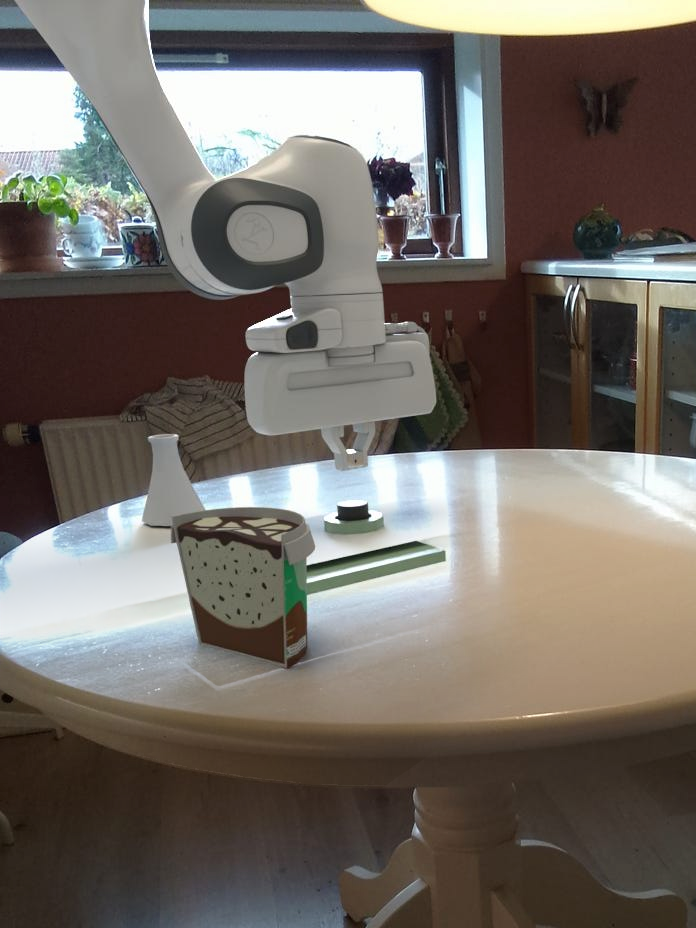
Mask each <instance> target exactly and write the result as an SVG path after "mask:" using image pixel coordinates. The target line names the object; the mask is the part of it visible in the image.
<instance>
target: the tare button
mask: <svg viewBox="0 0 696 928" xmlns="http://www.w3.org/2000/svg"><path fill="white" fill-rule="evenodd" d="M369 510H370V509H369V502H368V501H367V500H362V499H349V500H344V501H339V502H338V503H336V512H338V520H340V521H359V520H364V519H368V518H369Z"/></svg>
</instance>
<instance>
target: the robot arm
mask: <svg viewBox="0 0 696 928" xmlns="http://www.w3.org/2000/svg"><path fill="white" fill-rule="evenodd" d="M14 2H15V4H16V5H17V6H18V8H19V9H20V10H21V11H22V13H23V14H24V15H25V17H26V18H27V19H28V20H29V22H30V23H31V24H32V26H33V27H34V28H35V30H36V31H37V32H38V33H39V34H40V36H41V37H42V38H43V40H44V41H45V43H46V44H47V45H48V46H49V48H50V49H51V50H52V52H53V53H54V55H55V56H56V57H57V58H58V60H59V61H60V63H61V64H62V66H64V68H65V70H67V72H68V74H69V75H70V76H71V77H72V78H73V80H74V81H75V82H76V84H77V85H78V86H79V88H80V89H81V91H82V93H84V95H85V96H86V98H87V100H88V102H89V104H91V107H92V108H93V109H94V111H95V113H96V115H97V116H98V118H99V119H100V121H101V124H103V126H104V128H105V129H106V131H107V133H108V134H109V136H110V138H111V140H112V141H113V143H114V144H115V146H116V148H117V149H118V151H119V153H120V155H121V156H122V158H123V159H124V161H125V163H126V164H127V166H128V168H129V170H130V171H131V173H132V175H133V176H134V178H135V180H136V181H137V183H138V185H139V187H140V188H141V190H142V192H143V193H144V195H145V198H146V199H147V201H148V203H149V205H150V208H151V212H152V215H153V217H154V222H155V225H156V231H157V236H158V241H159V246H160V251H161V253H162V256H163V259H164V261H165V264H166V265H167V268H168V269H169V271H170V272H171V274H172V275H173V277H174V278H175V279H176V280H177V281H178V282H179V283H180V284H181V286H183V287H185V288H186V289H187V290H189V291H190V292H192V293H193V294H194V295H197V296H199V297H201V298H205V299H209V300H216V301H224V300H230V299H234V298H237V297H239V296H245V295H251V294H258V293H263V292H265V291H268V290H270V289H272V288H274V287H276V286H278V285H283V284H284V285H285V286H287V288H288V290H289V297H290V299H289V300H290V306H291V308H290V309H287V310H285V311H282V312H281V313H279V314H276V315H274V316H272V317H270V318H267V319H265V320H263V321H261V322H258V323H256V324H254V325H252V326H250V327H248V328H247V329H246V331H245V343H246V346H247V348H248V349H249V350H251V351H254V353H253V354H251V356H250V357H249V358H248V359H247V362H246V364H245V368H244V402H245V403H244V404H245V412H246V420H247V423H248V424H249V426H250V428H252V429H253V430H254V431H255V432H256V433H257V434H261V435H266V436H279V435H285V434H292V433H300V432H307V431H313V430H320V431H321V432H320V433H321V437H322V439H323V441H324V442H325V443H326V445H327V446H328V448H329V449H330V450H331V452H332V453H333V458H334V467H335V469H336V470H337V471H339V472H347V471H352V470H358V469H363V468H367V467H368V466H369V459H368V457H369V456H368V450H369V449H370V446H371V444H372V442H373V439H374V437H375V435H376V422H377V421H385V420H392V419H399V418H407V417H414V416H420V415H421V416H422V415H428V414H431V413H432V412H433V410H434V408H435V407H436V405H437V391H436V383H435V377H434V371H433V365H432V361H431V357H430V339H429V335H428V334H427V332H426V331H425V329H423V328H422V327H421V326H419V325H418V324H417V323H416V322H414V321H404V322H400V323H396V322H395V323H394V322H387V323H385V321H386V319H385V307H384V306H385V305H384V293H383V292H384V291H383V286H382V282H381V280H380V277H379V274H378V273H379V272H378V267H377V262H378V261H377V260H378V253H379V247H380V236H379V223H378V216H377V214H378V213H377V207H376V198H375V192H374V187H373V181H372V177H371V173H370V169H369V166H368V163H367V161H366V159H365V157H364V156H363V154H362V153H361V152H360V151H359V150H358V149H357V148H355V147H353V146H351V144H349V143H347V142H345V141H342V140H339V139H336V138H332V137H327V136H321V135H309V134H308V135H307V134H297V135H292V136H290V137H287V138H285V139H283V141H282V142H281V144H280V145H279V146H278V147H277V148H276V149H274V150H272V152H270V153H269V154H267V155H266V156H264V157H263V158H261V159H259V160H258V161H256V162H255V163H252V164H251V165H249V166H246V167H245V168H243V169H240V170H237V171H236V172H233V173H231V174H229V175H226V176H223V177H221V178H218V179H217V177H215V176H214V175H213V174H212V173H211V171H210V170H209V168H208V167H207V165H206V164H205V163H204V161H203V159H202V157H201V155H200V153H199V151H198V150H197V148H196V146H195V144H194V143H193V140H192V139H191V137H190V135H189V133H188V131H187V130H186V128H185V126H184V124H183V122H182V120H181V119H180V117H179V114H178V113H177V111H176V109H175V108H174V105H173V104H172V102H171V100H170V98H169V97H168V95H167V92H166V91H165V89H164V87H163V84H162V82H161V80H160V78H159V75H158V72H157V69H156V65H155V62H154V58H153V53H152V47H151V40H150V28H149V25H150V24H149V0H14ZM417 331H418V332H417ZM349 425H352V430H353V432H355V433H357V435H356V437H355V440H354V443H353V446H352V448H351V449H347V448H346V447H345V445H344V443H343V442H342V440H341V438H343V437H345V429H344V428H345V427H344V426H349Z"/></svg>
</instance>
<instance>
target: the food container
mask: <svg viewBox="0 0 696 928" xmlns="http://www.w3.org/2000/svg"><path fill="white" fill-rule="evenodd" d="M172 522H173V524H172V525H171V526H170V543H171V544H174V543H176V545H177V550H178V554H179V559H180V564H181V568H182V573H183V578H184V582H185V586H186V591H187V596H188V601H189V605H190V610H191V614H192V618H193V623H194V627H195V633H196V637H197V642H198V645H201V646H205V647H209V648H212V649H216V650H220V651H224V652H227V653H231V654H235V655H237V656H238V655H239V656H242V657H246V658H249V659H253V660H257V661H260V662H264V663H268V664H272V665H275V666H279V667H281V669H287V670H288V669H290V668H292V667H294V666H295V665H297V664H298V662H299V661H300V660H301V659H303V658H304V656H305V655H306V654H307V651H308V595H307V565H308V564H307V559H308V557H309V556H311V555H312V554H313V553H314V551H315V550H316V544H315V541H314V538H313V535H312V531H311V528H310V525H309V524H308V523H306V519H305V517H304V516H303V515H302V514H301V513H298V512H296V511H294V510H290V509H284V508H277V507H266V506H265V507H264V506H239V507H224V508H223V507H222V508H212V509H205V510H203V511H197V512H191V513H186V514H181V515H177V516H172Z"/></svg>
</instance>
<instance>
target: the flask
mask: <svg viewBox="0 0 696 928" xmlns="http://www.w3.org/2000/svg"><path fill="white" fill-rule="evenodd" d="M179 438H180V436H179V435H178V434H175V433H162V434H154V435H150V436H148V437H147V441H148V443H150V445H151V451H152V470H151V476H150V480H149V481H150V482H149V487H148V490H147V496H146V500H145V504H144V505H145V506H144V509H143V513H142V516H141V517H142V518H141V523H144V524H147V525H149V526H152V527H171V525H172V524H173V522H172V516H177V515H181V514H186V513H191V512H197V511H203V510H206V508H205V506H204V504H203V502H202V500H201V499H200V497H199V495H198V494H197V492H196V490H195V488H194V485H193V484H192V482H191V480H190V478H189V476H188V474H187V472H186V471H185V469H184V466H183V463H182V460H181V457H180V454H179V449H178V441H179V440H180V439H179Z"/></svg>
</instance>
